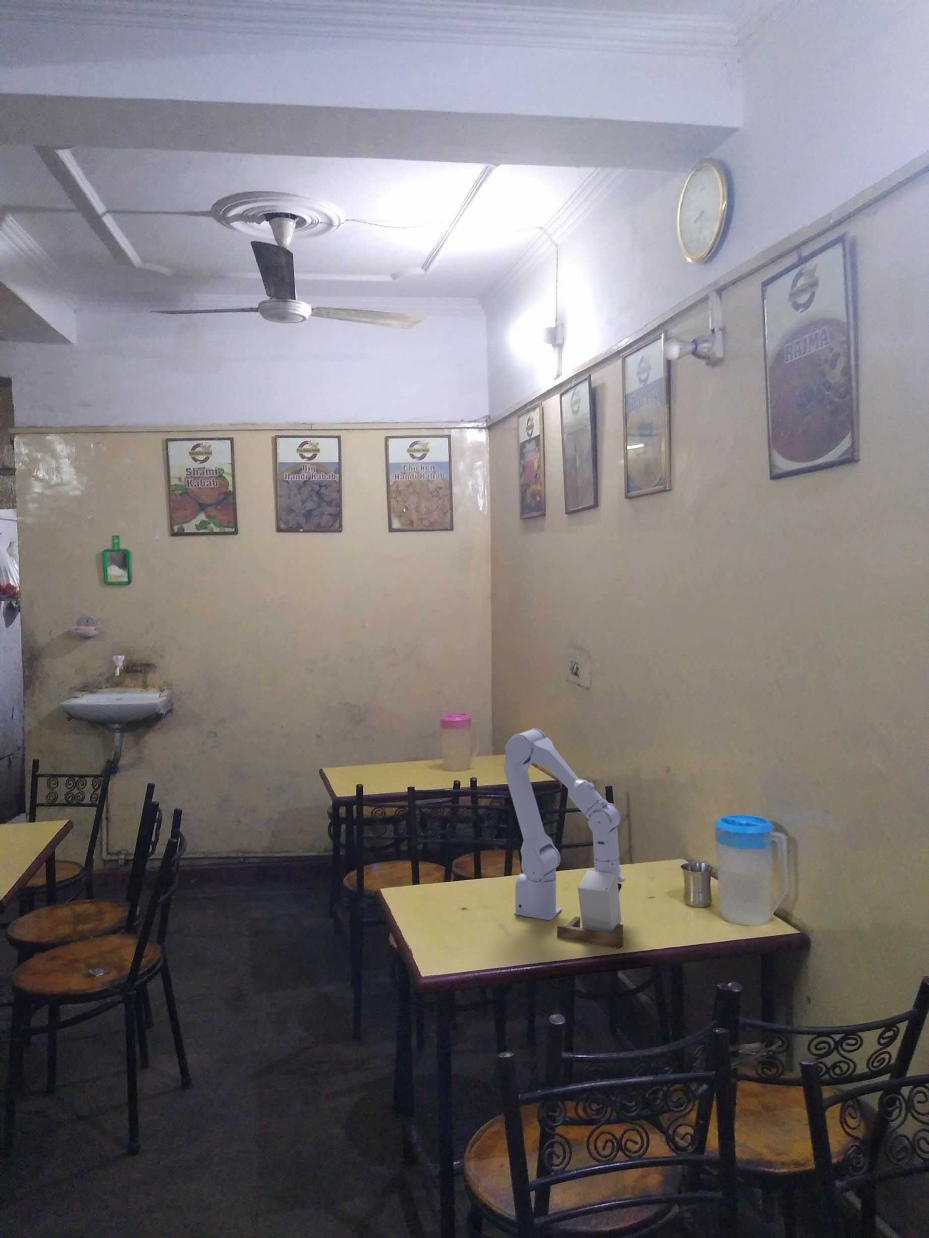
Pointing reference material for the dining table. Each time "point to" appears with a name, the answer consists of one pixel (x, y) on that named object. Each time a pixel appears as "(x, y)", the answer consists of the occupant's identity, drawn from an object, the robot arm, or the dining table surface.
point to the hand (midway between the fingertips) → (609, 915)
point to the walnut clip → (591, 934)
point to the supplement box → (599, 901)
